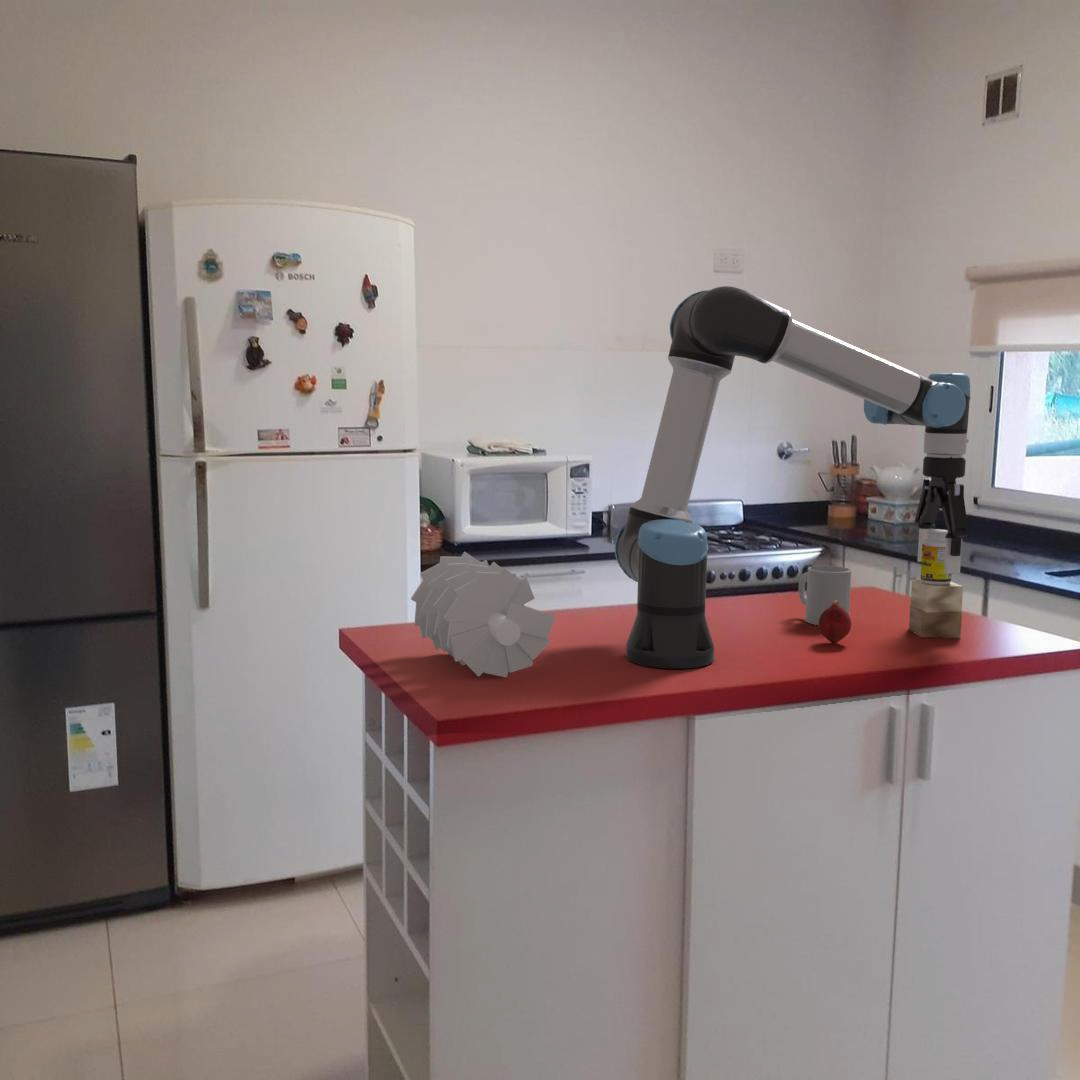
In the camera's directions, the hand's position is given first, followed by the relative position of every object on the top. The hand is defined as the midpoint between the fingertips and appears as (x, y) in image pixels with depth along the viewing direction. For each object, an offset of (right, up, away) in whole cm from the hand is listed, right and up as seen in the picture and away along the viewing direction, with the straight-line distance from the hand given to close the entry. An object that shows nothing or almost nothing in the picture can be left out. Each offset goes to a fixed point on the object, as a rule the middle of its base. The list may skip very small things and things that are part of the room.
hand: (938, 567), depth 209 cm
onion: (-22, -14, -8) cm, 27 cm away
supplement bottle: (0, -3, 0) cm, 3 cm away
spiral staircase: (-86, -16, -25) cm, 91 cm away
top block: (0, -8, +1) cm, 8 cm away
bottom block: (0, -13, +2) cm, 13 cm away
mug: (-19, -11, +12) cm, 26 cm away
